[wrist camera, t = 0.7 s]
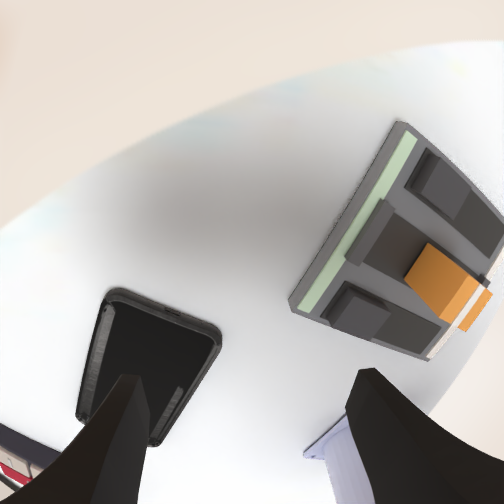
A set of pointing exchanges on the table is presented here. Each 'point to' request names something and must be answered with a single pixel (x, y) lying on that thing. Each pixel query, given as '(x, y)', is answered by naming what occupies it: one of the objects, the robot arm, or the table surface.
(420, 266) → the handle
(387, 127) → the table surface
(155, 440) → the phone
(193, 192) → the table surface
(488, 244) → the panel
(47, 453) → the red and black box
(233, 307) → the table surface
